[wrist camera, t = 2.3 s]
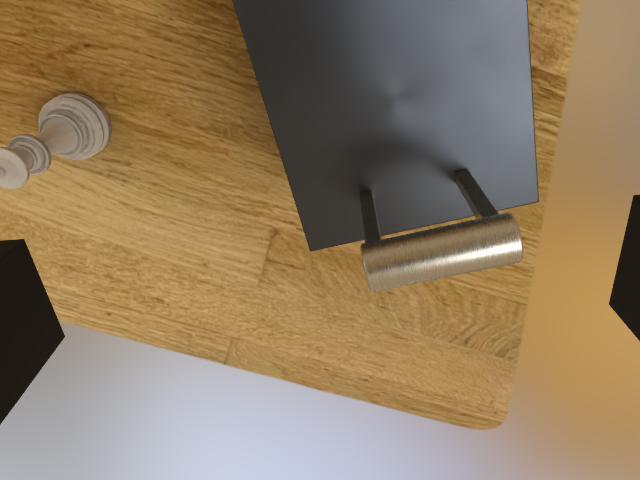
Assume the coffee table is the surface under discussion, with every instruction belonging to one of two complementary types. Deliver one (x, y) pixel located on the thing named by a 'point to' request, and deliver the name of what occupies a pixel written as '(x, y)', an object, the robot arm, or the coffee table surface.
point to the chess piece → (56, 138)
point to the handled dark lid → (401, 126)
